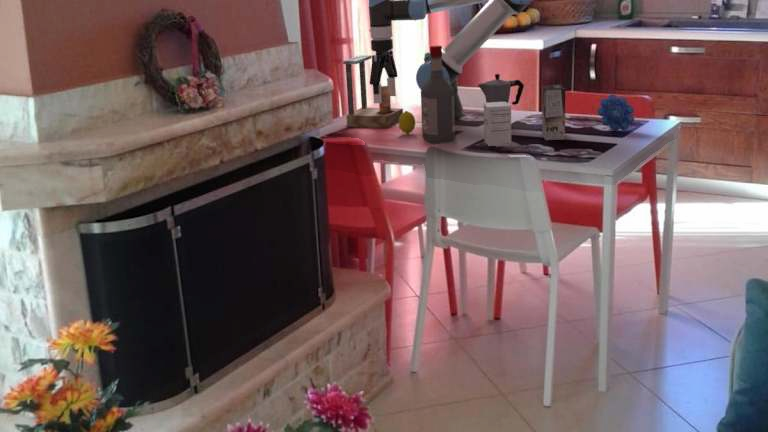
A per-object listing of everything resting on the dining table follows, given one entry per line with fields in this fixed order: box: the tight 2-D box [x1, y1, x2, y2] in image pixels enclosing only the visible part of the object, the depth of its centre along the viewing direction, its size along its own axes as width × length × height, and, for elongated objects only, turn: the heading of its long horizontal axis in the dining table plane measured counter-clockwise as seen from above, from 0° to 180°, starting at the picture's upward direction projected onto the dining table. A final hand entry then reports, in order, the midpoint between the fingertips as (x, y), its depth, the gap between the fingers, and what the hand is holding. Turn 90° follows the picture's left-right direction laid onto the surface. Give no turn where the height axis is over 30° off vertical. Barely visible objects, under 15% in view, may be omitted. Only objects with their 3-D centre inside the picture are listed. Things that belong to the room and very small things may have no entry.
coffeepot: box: [477, 73, 525, 127], centre depth 299 cm, size 15×9×18 cm, turn 92°
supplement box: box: [483, 102, 512, 147], centre depth 277 cm, size 7×7×13 cm
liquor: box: [420, 45, 456, 144], centre depth 283 cm, size 9×9×30 cm
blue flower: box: [596, 93, 635, 132], centre depth 284 cm, size 12×7×12 cm, turn 72°
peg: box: [378, 85, 392, 114], centre depth 315 cm, size 4×4×13 cm
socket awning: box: [342, 54, 404, 129], centre depth 315 cm, size 16×14×23 cm
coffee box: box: [541, 83, 566, 141], centre depth 281 cm, size 9×6×16 cm
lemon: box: [398, 110, 416, 135], centre depth 296 cm, size 6×6×8 cm
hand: (385, 99), depth 314 cm, fingers open, 13 cm apart
